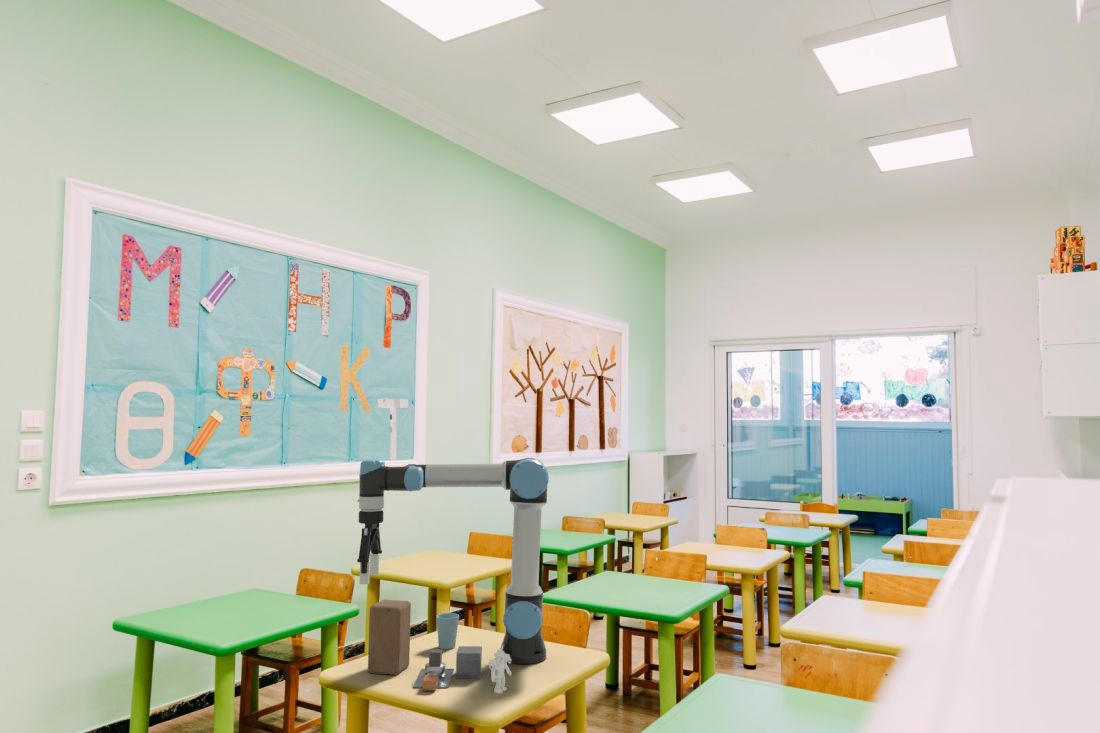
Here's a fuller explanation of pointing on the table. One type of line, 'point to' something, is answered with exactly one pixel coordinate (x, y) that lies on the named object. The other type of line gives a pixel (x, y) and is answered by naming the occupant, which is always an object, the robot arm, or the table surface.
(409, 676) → the table surface
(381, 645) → the wooden block
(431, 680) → the lever
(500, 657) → the hat wearing toy figure
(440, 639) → the cup
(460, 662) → the grey metal cube
